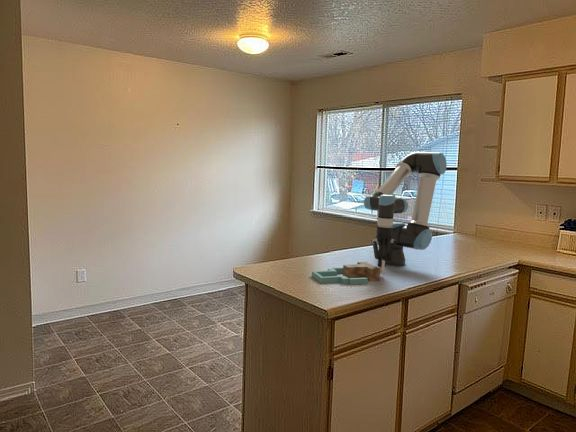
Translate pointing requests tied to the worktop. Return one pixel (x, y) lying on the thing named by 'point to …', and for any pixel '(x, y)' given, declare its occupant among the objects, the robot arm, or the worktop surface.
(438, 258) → the worktop surface
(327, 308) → the worktop surface
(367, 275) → the t block
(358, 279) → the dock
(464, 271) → the worktop surface
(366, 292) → the worktop surface
